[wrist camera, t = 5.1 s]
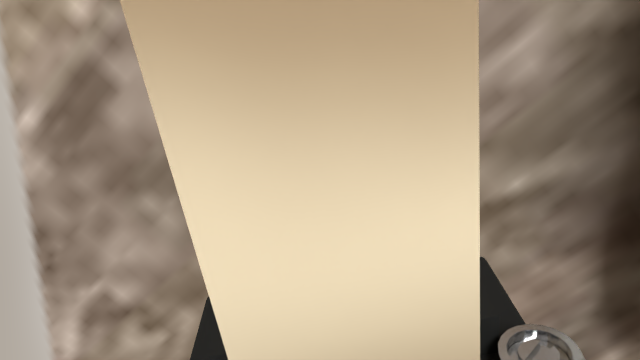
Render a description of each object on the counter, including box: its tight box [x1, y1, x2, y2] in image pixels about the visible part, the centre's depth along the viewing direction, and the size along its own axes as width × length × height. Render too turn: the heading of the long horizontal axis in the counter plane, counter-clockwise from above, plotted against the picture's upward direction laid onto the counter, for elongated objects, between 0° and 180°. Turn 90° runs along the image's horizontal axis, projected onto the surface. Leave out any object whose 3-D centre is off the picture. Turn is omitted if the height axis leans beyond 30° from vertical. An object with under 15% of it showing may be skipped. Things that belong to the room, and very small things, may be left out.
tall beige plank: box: [120, 0, 480, 360], centre depth 10 cm, size 15×8×5 cm, turn 8°
